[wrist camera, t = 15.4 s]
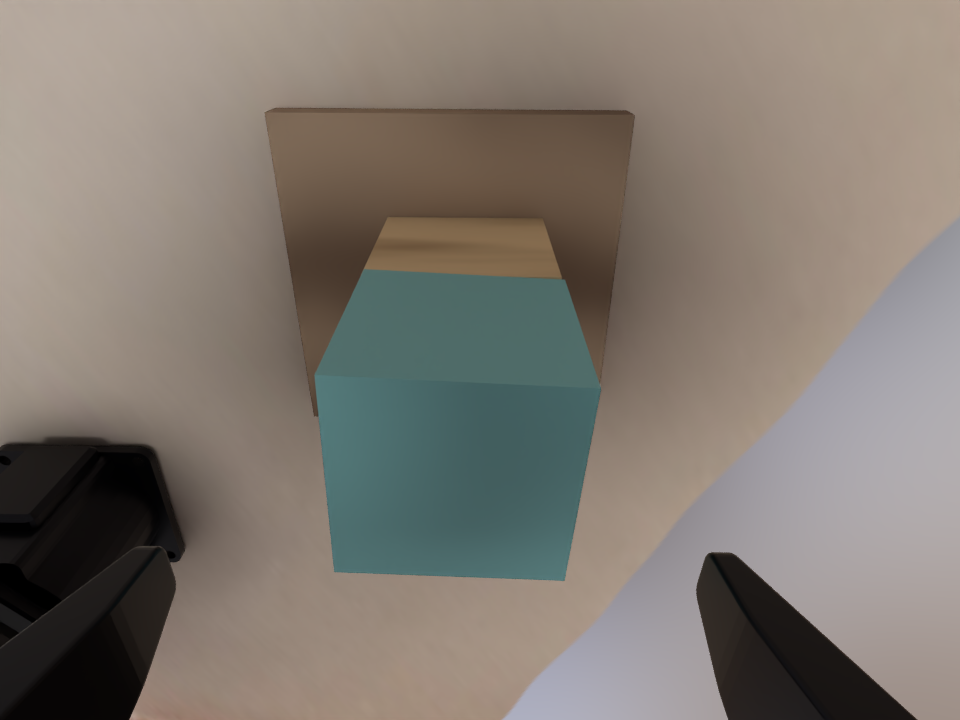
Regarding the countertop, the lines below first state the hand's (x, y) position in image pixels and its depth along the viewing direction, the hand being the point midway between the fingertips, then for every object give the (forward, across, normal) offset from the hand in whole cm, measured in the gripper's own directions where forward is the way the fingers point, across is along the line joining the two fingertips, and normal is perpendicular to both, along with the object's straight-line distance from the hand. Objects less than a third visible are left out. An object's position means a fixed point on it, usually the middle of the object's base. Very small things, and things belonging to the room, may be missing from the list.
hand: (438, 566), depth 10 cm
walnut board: (+14, 0, 0) cm, 14 cm away
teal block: (+7, 0, 0) cm, 7 cm away
